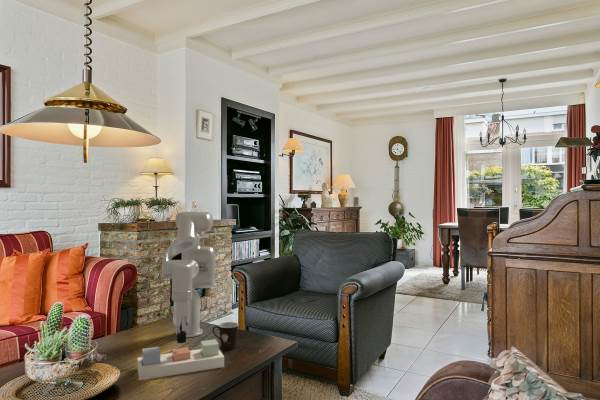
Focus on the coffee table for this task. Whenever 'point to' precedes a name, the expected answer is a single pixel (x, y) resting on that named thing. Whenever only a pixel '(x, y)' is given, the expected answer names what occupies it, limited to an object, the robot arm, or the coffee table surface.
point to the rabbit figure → (100, 357)
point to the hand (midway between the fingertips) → (181, 342)
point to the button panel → (179, 365)
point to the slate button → (150, 356)
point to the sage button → (209, 348)
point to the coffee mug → (227, 335)
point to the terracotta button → (180, 354)
